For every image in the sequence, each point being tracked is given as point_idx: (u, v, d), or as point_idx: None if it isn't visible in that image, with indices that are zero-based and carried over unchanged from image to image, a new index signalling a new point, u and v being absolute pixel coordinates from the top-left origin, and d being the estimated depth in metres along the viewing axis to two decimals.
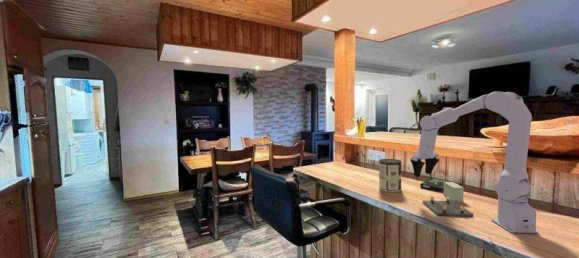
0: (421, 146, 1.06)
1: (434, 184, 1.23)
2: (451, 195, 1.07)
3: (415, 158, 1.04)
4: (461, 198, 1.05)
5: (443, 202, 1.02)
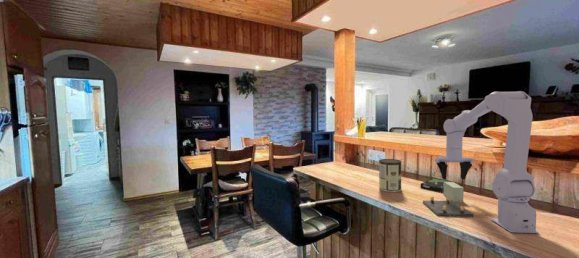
0: (446, 149, 1.09)
1: (434, 184, 1.23)
2: (451, 195, 1.07)
3: (436, 160, 1.08)
4: (461, 198, 1.05)
5: (443, 202, 1.02)
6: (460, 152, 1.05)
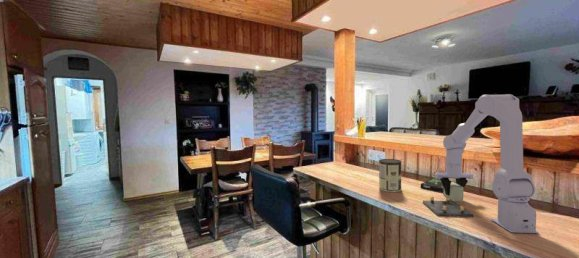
0: (446, 165, 1.09)
1: (434, 184, 1.22)
2: (451, 195, 1.07)
3: (436, 176, 1.09)
4: (461, 198, 1.05)
5: (443, 202, 1.02)
6: (460, 169, 1.06)
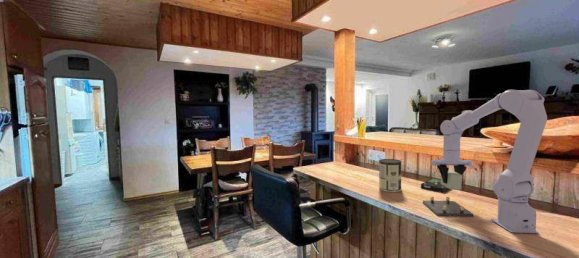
0: (443, 151, 1.04)
1: (434, 184, 1.22)
2: (448, 183, 1.01)
3: (433, 163, 1.03)
4: (459, 186, 1.00)
5: (443, 202, 1.02)
6: (458, 155, 1.00)
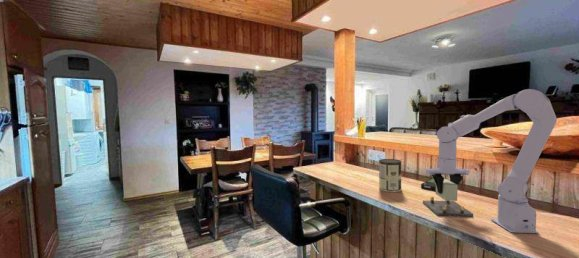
0: None
1: (435, 184, 1.22)
2: (444, 194, 0.95)
3: (427, 172, 0.97)
4: (455, 197, 0.93)
5: (443, 202, 1.02)
6: (454, 163, 0.93)
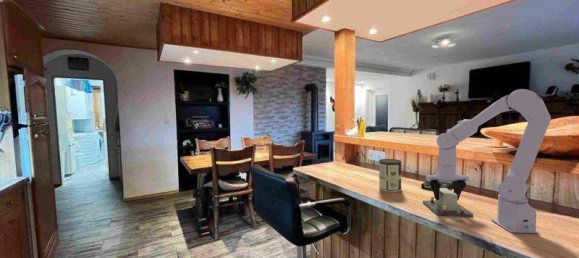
0: (438, 166, 0.97)
1: None
2: (443, 203, 0.95)
3: (427, 178, 0.97)
4: (455, 206, 0.93)
5: None
6: (454, 170, 0.94)
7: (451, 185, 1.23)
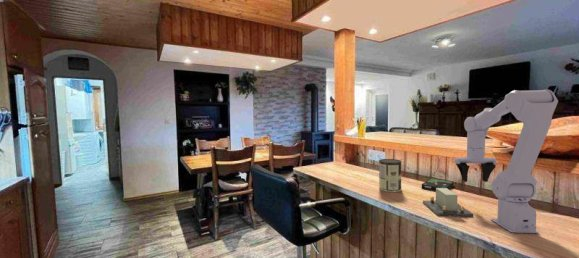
0: (467, 149, 1.01)
1: (435, 184, 1.22)
2: (443, 203, 0.95)
3: (456, 161, 1.01)
4: (455, 206, 0.93)
5: None
6: (483, 152, 0.98)
7: (451, 185, 1.24)
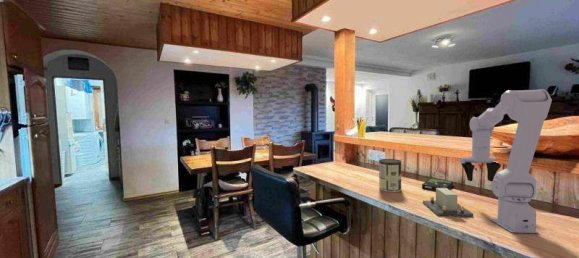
0: (472, 149, 1.02)
1: (435, 184, 1.22)
2: (443, 203, 0.95)
3: (462, 160, 1.02)
4: (455, 206, 0.93)
5: None
6: (488, 152, 0.98)
7: (451, 185, 1.24)
